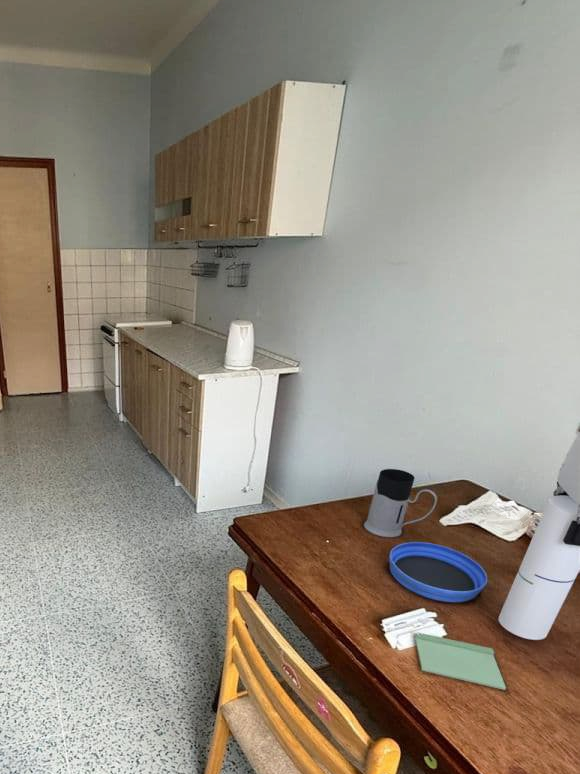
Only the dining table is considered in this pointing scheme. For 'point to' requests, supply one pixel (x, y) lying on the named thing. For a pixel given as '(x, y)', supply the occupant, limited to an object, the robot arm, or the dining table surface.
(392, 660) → the dining table surface
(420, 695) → the dining table surface
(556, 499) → the cylindrical container
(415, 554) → the bowl
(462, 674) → the green flat panel
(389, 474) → the glass holder
